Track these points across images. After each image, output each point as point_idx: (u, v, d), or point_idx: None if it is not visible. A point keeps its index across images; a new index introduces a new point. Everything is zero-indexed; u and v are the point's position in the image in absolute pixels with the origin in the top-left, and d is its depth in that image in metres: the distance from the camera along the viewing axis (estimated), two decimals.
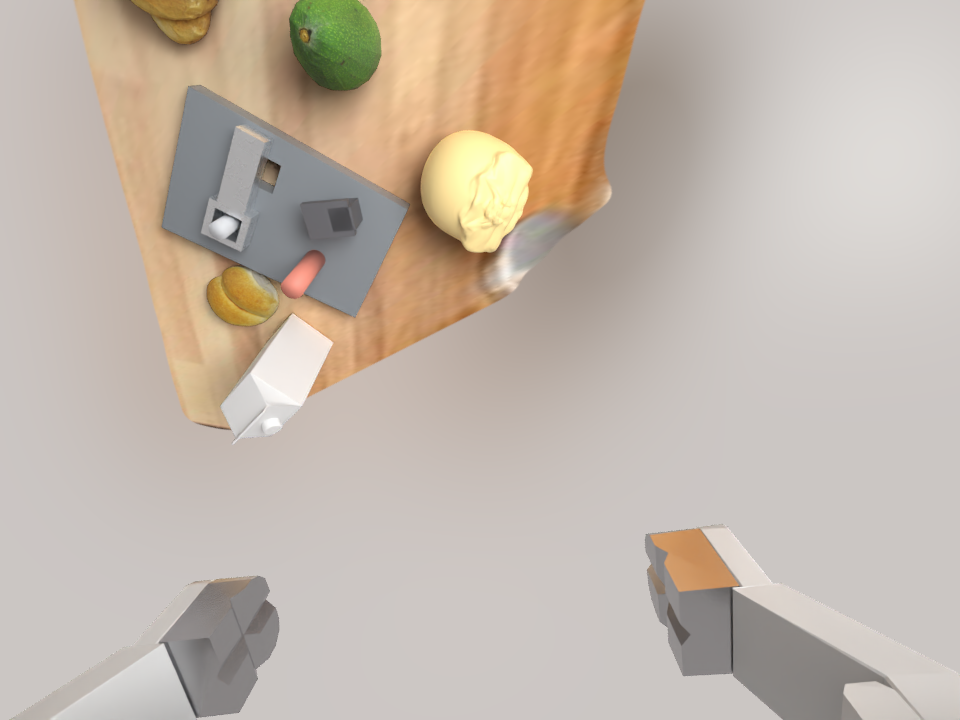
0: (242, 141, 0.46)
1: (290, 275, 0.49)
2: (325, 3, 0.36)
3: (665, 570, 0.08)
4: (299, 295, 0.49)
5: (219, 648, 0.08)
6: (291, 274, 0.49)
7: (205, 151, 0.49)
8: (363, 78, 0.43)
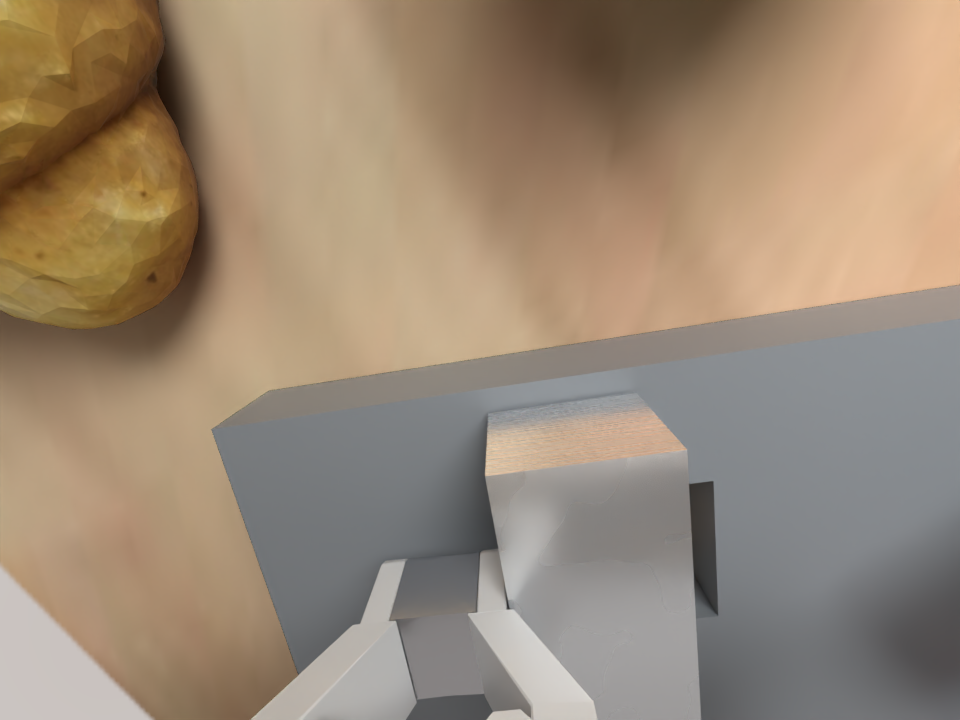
0: (558, 525, 0.07)
1: None
2: None
3: None
4: None
5: (448, 625, 0.08)
6: None
7: None
8: None
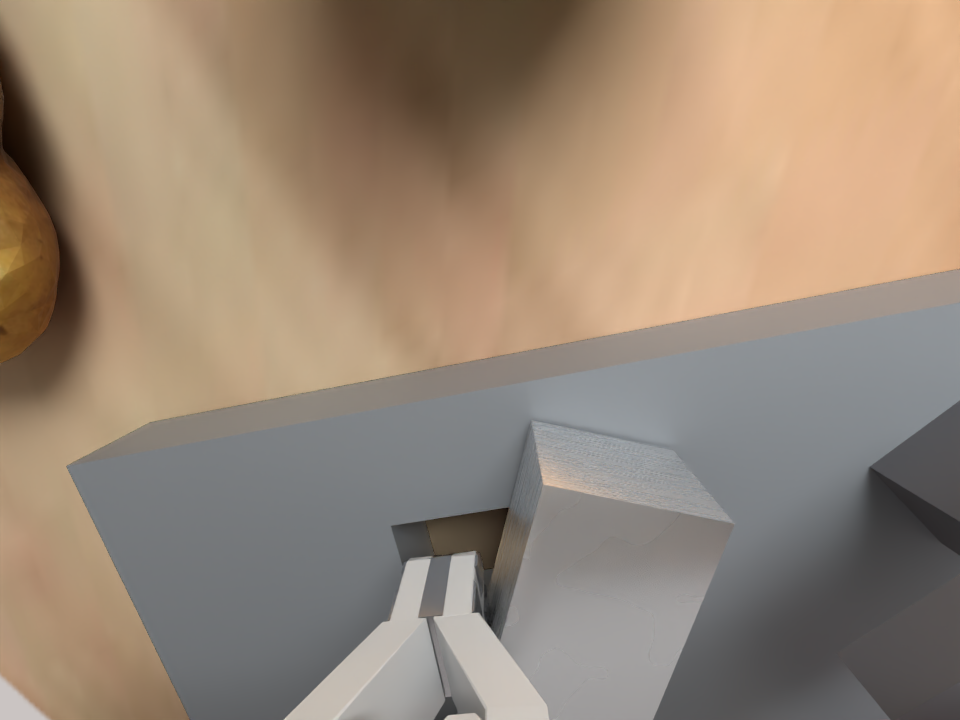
0: (589, 553, 0.07)
1: None
2: None
3: (396, 597, 0.08)
4: None
5: None
6: None
7: (261, 643, 0.11)
8: None
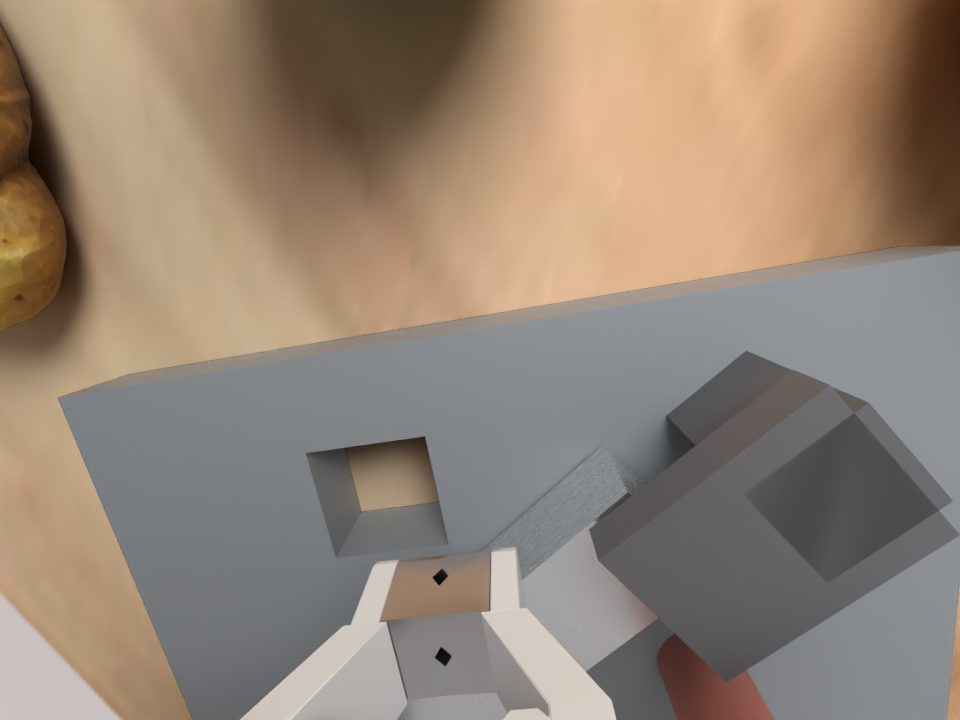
0: None
1: None
2: None
3: None
4: None
5: (438, 626, 0.08)
6: None
7: (205, 549, 0.14)
8: None
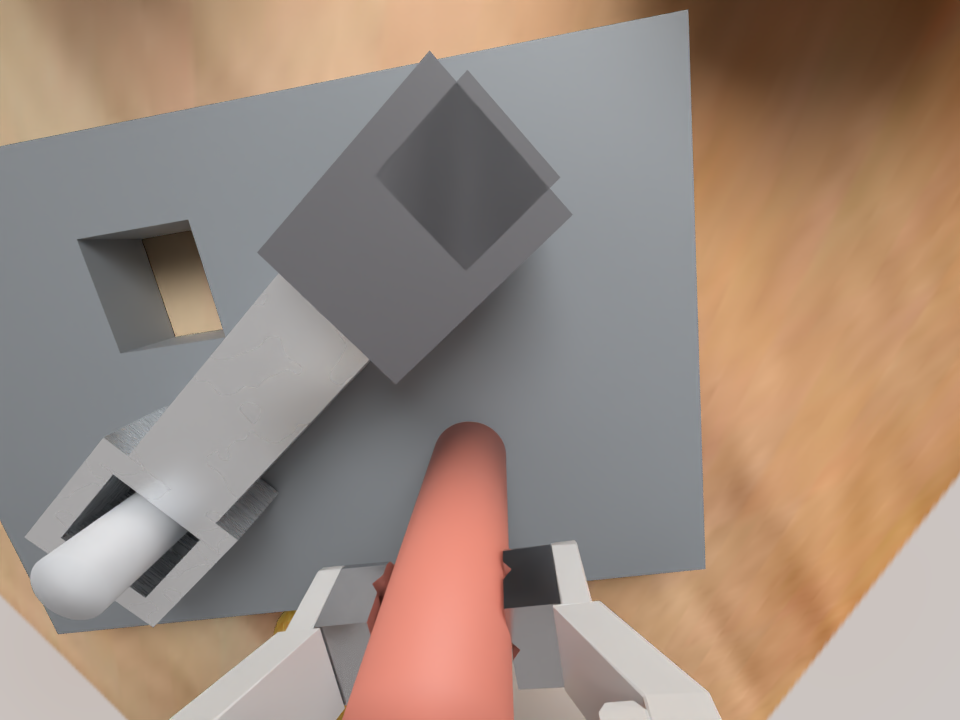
0: None
1: (377, 639, 0.07)
2: None
3: None
4: None
5: None
6: (382, 624, 0.07)
7: None
8: None
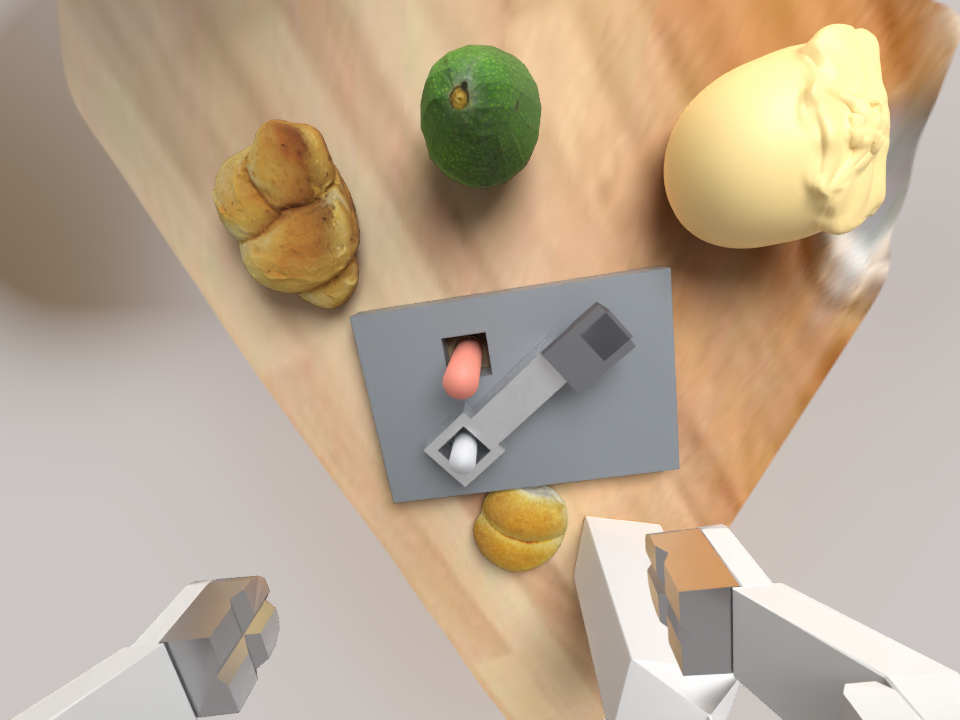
0: None
1: (448, 366, 0.30)
2: (459, 48, 0.23)
3: (665, 570, 0.08)
4: (475, 386, 0.29)
5: (220, 647, 0.08)
6: (449, 365, 0.30)
7: (398, 378, 0.36)
8: (538, 129, 0.28)
